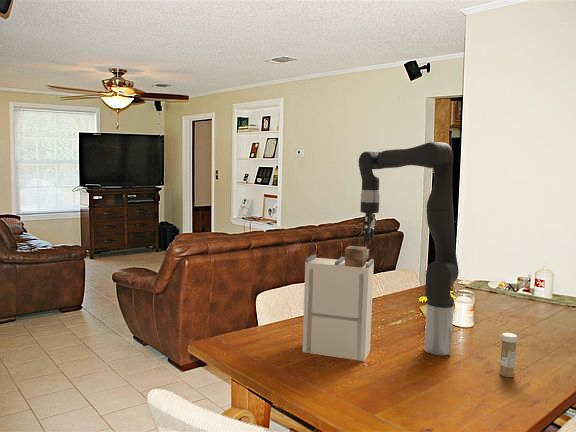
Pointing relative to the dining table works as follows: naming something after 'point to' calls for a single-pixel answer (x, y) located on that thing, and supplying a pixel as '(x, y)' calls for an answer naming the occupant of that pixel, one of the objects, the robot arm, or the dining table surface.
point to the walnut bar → (356, 256)
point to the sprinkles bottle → (508, 354)
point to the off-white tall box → (337, 308)
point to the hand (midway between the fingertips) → (368, 240)
